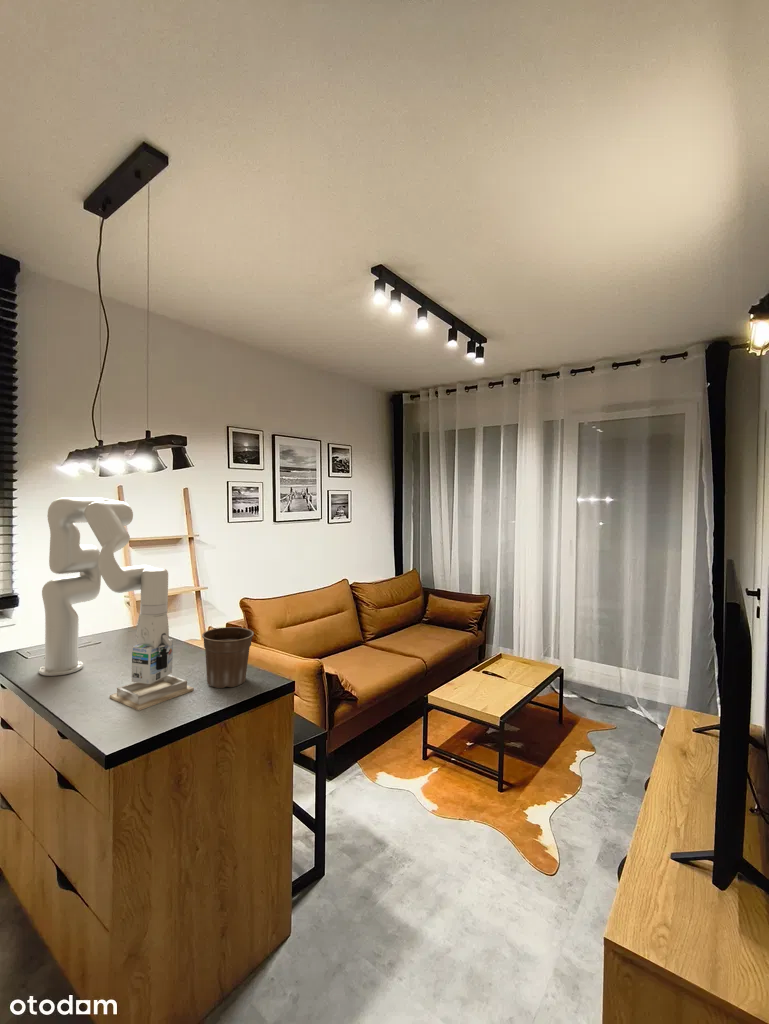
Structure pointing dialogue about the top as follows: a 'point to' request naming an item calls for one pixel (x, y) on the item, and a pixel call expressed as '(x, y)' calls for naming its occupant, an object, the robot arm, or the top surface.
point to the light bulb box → (148, 664)
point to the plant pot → (227, 655)
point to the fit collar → (151, 692)
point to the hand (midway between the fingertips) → (152, 665)
